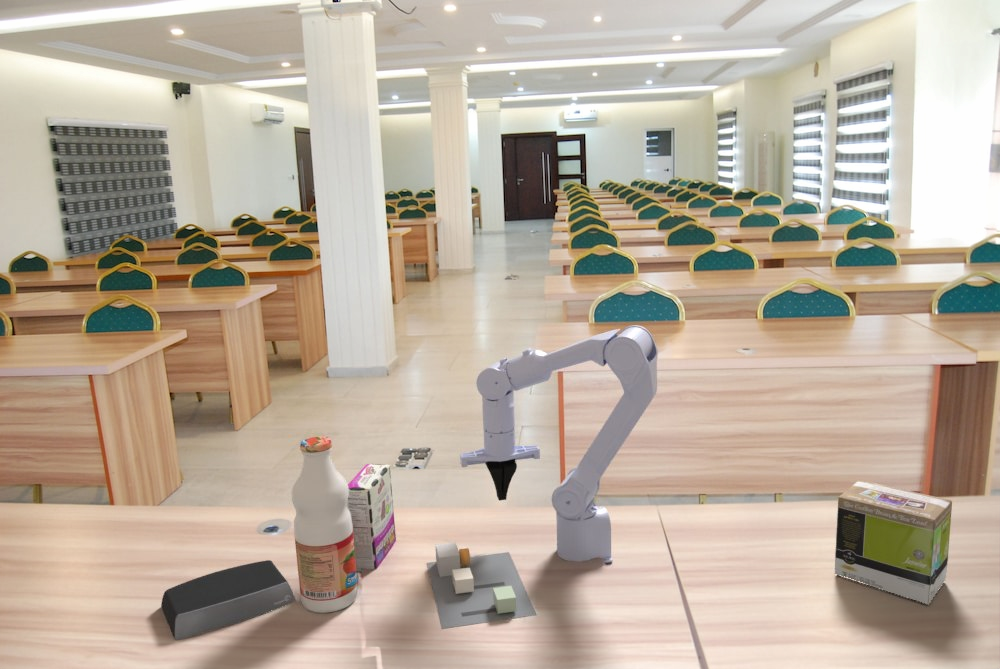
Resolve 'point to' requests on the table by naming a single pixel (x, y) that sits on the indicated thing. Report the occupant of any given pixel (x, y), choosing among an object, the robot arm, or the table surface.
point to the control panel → (475, 588)
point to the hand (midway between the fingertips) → (501, 498)
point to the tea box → (893, 539)
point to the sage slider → (504, 599)
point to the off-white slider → (463, 580)
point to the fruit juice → (323, 531)
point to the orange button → (464, 556)
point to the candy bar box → (372, 515)
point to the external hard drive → (225, 598)
